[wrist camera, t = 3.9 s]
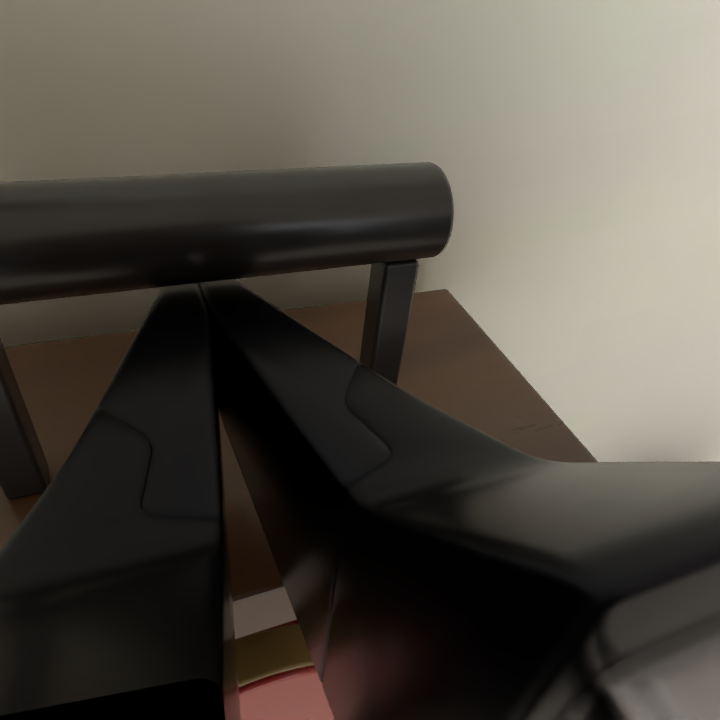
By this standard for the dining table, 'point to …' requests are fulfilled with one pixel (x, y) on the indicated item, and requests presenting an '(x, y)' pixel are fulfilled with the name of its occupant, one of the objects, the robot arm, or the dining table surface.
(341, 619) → the robot arm
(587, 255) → the dining table surface
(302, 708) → the tin
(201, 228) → the drawer
